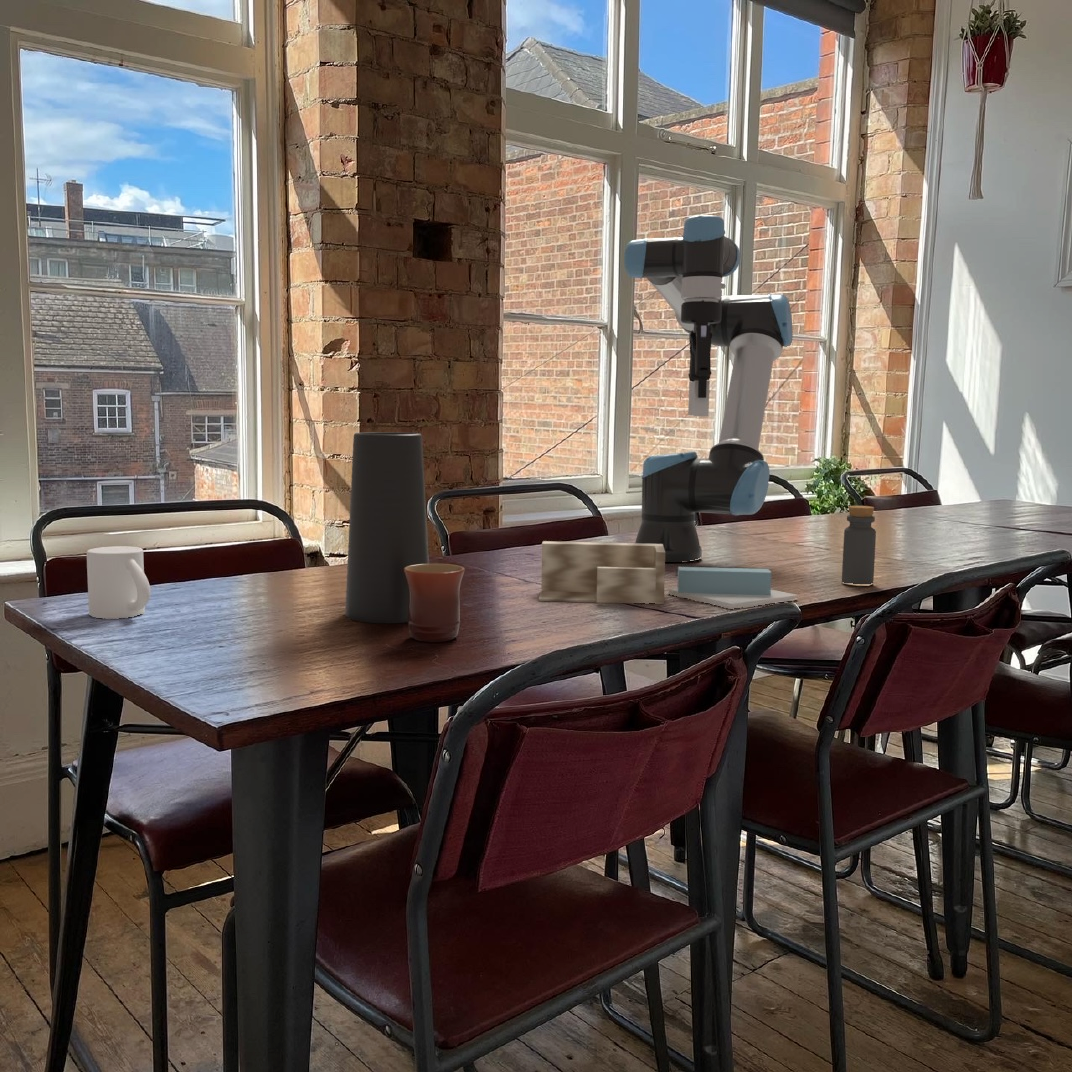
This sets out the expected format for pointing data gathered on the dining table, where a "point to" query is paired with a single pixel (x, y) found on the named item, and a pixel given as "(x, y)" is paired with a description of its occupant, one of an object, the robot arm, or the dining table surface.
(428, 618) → the mug
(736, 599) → the tile
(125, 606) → the mug
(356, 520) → the vase
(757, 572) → the bar
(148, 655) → the dining table surface
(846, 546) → the bottle
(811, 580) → the dining table surface
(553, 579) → the block
